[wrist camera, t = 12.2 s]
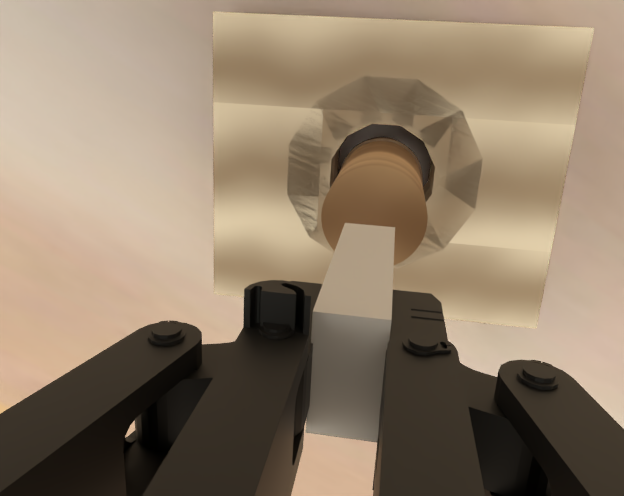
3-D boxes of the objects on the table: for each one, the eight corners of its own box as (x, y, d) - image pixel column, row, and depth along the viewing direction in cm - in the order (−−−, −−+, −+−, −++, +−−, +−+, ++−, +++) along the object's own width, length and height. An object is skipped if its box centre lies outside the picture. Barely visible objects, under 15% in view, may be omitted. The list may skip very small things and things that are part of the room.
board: (234, 17, 33) (212, 11, 30) (570, 32, 31) (594, 27, 27) (232, 271, 38) (214, 294, 35) (522, 301, 36) (536, 328, 32)
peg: (350, 126, 34) (322, 159, 22) (423, 131, 34) (436, 168, 21) (344, 197, 36) (315, 265, 23) (415, 203, 35) (423, 276, 23)
